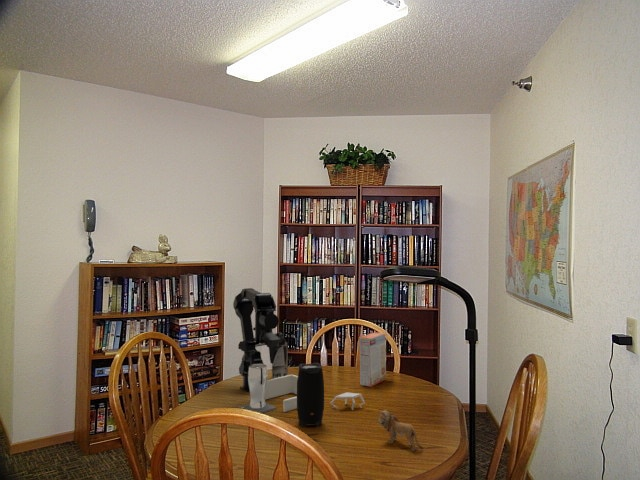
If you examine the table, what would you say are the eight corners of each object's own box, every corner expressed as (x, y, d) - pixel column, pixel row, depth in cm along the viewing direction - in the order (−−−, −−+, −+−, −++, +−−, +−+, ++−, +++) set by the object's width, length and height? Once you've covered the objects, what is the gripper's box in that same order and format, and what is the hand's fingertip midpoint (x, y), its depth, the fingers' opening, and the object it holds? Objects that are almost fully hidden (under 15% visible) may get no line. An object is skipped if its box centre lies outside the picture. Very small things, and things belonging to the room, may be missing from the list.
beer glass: (263, 410, 170) (264, 368, 170) (245, 409, 171) (245, 367, 172) (269, 404, 177) (269, 364, 177) (251, 403, 178) (251, 363, 179)
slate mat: (237, 408, 174) (237, 406, 174) (260, 402, 181) (260, 401, 181) (253, 415, 167) (253, 414, 167) (276, 409, 173) (276, 407, 173)
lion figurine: (375, 441, 145) (375, 411, 145) (383, 435, 149) (383, 407, 150) (419, 453, 136) (419, 422, 137) (427, 447, 141) (427, 417, 141)
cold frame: (257, 400, 183) (257, 382, 183) (291, 391, 194) (292, 374, 195) (284, 411, 170) (284, 392, 171) (319, 401, 182) (319, 383, 182)
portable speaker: (320, 429, 154) (320, 369, 154) (292, 426, 157) (293, 367, 157) (327, 420, 162) (327, 363, 162) (301, 417, 165) (301, 361, 165)
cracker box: (374, 377, 215) (374, 331, 215) (386, 380, 212) (386, 333, 212) (358, 385, 204) (358, 336, 204) (370, 387, 200) (370, 338, 200)
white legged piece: (352, 402, 182) (352, 389, 182) (365, 408, 175) (365, 395, 175) (326, 407, 176) (326, 394, 176) (338, 414, 169) (338, 400, 169)
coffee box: (286, 383, 206) (286, 345, 207) (271, 383, 206) (271, 345, 207) (288, 377, 216) (288, 341, 216) (273, 377, 216) (274, 341, 216)
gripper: (254, 330, 173) (254, 373, 173) (294, 325, 186) (293, 365, 186) (237, 326, 181) (237, 367, 181) (276, 321, 194) (276, 360, 194)
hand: (262, 365), depth 185 cm, fingers open, 9 cm apart
